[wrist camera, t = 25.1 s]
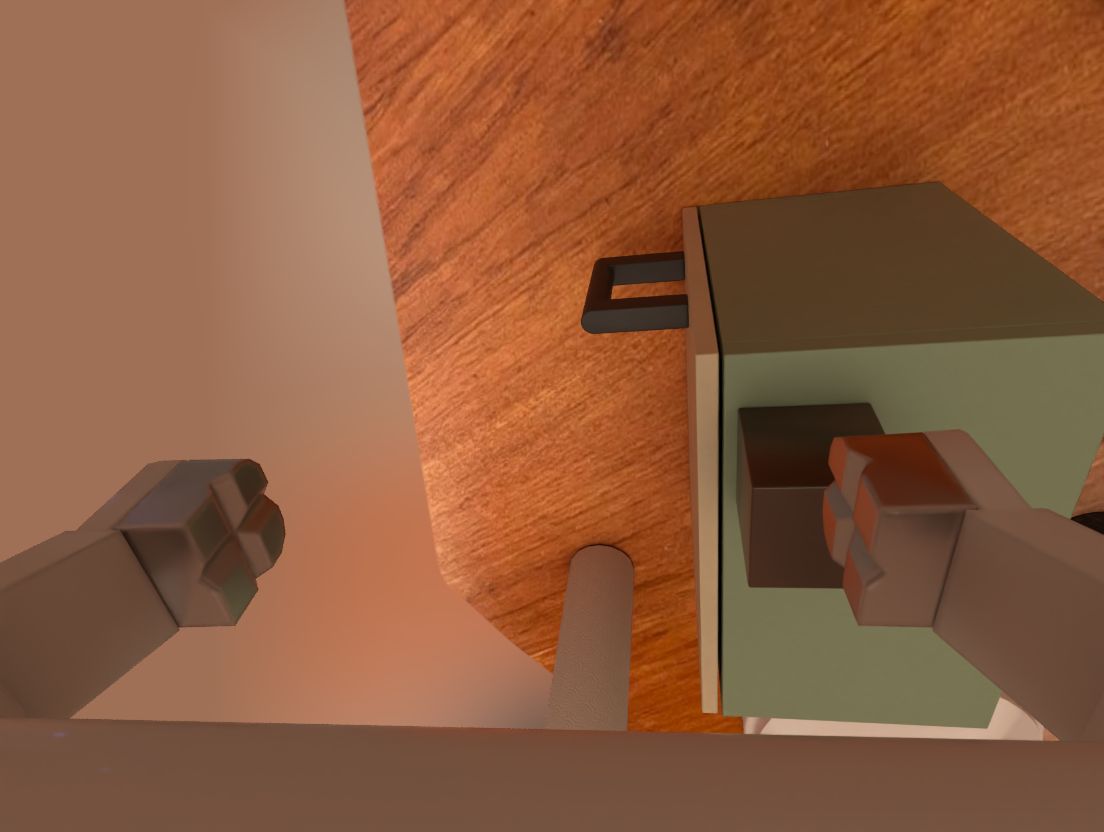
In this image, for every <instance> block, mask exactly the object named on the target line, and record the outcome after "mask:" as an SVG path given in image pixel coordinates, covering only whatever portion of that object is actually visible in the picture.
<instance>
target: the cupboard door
mask: <svg viewBox="0 0 1104 832" xmlns="http://www.w3.org/2000/svg"><path fill="white" fill-rule="evenodd" d="M682 224H683V251H680V252H668V253H656V254H645V255H633V256H621V257H609V258H601V259H599V260H597V261H596V262H595V264H594V267H593V272H592V276H591V280H590V284H589V288H588V293H587V297H586V301H585V305H584V310H583V314H582V318H581V325H582V327H583V329H584V330H585V331H586V332H588V333H591V334H599V333H615V332H632V331H648V330H664V329H680V328H685V331H686V367H687V403H688V438H689V474H690V502H691V520H692V539H693V557H694V575H695V593H696V611H697V629H698V648H699V666H700V684H701V702H702V712H703V713H717V712H718V445H719V353H718V346H717V339H716V333H715V326H714V320H713V313H712V307H711V300H710V293H709V287H708V280H707V274H706V267H705V261H704V254H703V247H702V241H701V234H700V228H699V221H698V215H697V208H696V207H688V208H682ZM680 280H684V294H680V295H666V296H652V297H638V298H625V299H611V294H612V288H613V286H615V285H628V284H641V283H654V282H667V281H680Z"/></svg>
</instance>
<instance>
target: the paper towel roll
mask: <svg viewBox="0 0 1104 832" xmlns="http://www.w3.org/2000/svg"><path fill="white" fill-rule="evenodd" d="M633 587H634V568H633V565H632V563H631V560H630V559H629V558H628V557H627V556H626V555H625V554H624V553H623V552H621V551H619V550H617V549H615V548H613V547H608V546H602V545H597V546H589V547H586V548H584V549H582V550H580V551H578V552H577V553H576V554H575V556H574V557H573V558H572V560H571V563H570V570H569V576H568V583H567V589H566V595H565V602H564V608H563V615H562V621H561V627H560V634H559V640H558V647H557V653H556V659H555V666H554V672H553V679H552V685H551V692H550V698H549V704H548V711H547V717H546V724H545V729H555V730H599V731H627V718H628V696H629V674H630V653H631V631H632V609H633Z"/></svg>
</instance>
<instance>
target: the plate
mask: <svg viewBox="0 0 1104 832" xmlns="http://www.w3.org/2000/svg"><path fill="white" fill-rule="evenodd" d="M742 718H743V727H744V734H773V735H817V736H862V737H907V738H952V739H996V740H1041V741H1043V733H1044V726H1043V725H1042V724H1040V723H1039V722H1038V721H1037V720H1036V719H1035V718H1033V717H1032V716H1031V715H1030V714H1029V713H1028V712H1026V711H1025V710H1024V709H1023V708H1022V707H1021V706H1019V705H1018V704H1017V703H1016V702H1015V701H1014V700H1012V699H1011V698H1010V697H1009V696H1008V695H1007V694H1005V693H1004V692H1003V691H1002V693H1001V696H1000V698H999V701H998V704H997V706H996V709H995V711H994V714H993V716H992V719H991V721H990V724H989V726H988V728H987V729H981V728H961V727H941V726H920V725H900V724H880V723H859V722H839V721H819V720H798V719H778V718H758V717H742Z"/></svg>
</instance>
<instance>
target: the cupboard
mask: <svg viewBox="0 0 1104 832" xmlns="http://www.w3.org/2000/svg"><path fill="white" fill-rule="evenodd" d="M699 220H700V234H701V241H702V247H703V254H704V261H705V267H706V274H707V280H708V287H709V293H710V300H711V307H712V313H713V320H714V326H715V333H716V339H717V346H718V353H719V445H718V669H719V681H720V693H721V705H722V715H723V716H737V717H758V718H778V719H798V720H819V721H839V722H859V723H880V724H900V725H920V726H941V727H961V728H981V729H987V728H988V726H989V724H990V721H991V719H992V716H993V714H994V711H995V709H996V706H997V704H998V701H999V698H1000V696H1001V693H1002V690H1001V689H1000V688H998V687H997V686H996V685H995V684H994V683H993V682H991V681H990V680H989V679H988V678H987V677H986V676H984V675H983V674H982V673H981V672H980V671H979V670H977V669H976V668H975V667H974V666H973V665H972V664H970V663H969V662H968V661H967V660H966V659H965V658H963V657H962V656H961V655H960V654H959V653H958V652H956V651H955V650H954V649H953V648H952V647H951V646H949V645H948V644H947V643H946V642H945V641H943V640H942V639H941V638H940V637H939V636H938V635H936V634H935V633H934V632H933V631H932V629H933V628H929V627H889V626H858V624H857V622H856V619H855V617H854V614H853V612H852V609H851V606H850V604H849V601H848V599H847V596H846V594H845V591H844V589H828V588H750V587H749V586H748V582H747V574H746V567H745V560H744V553H743V546H742V539H741V532H740V525H739V518H738V511H737V504H736V478H737V424H738V409H739V408H758V407H782V406H807V405H832V404H857V403H870V404H871V405H872V407H873V409H874V411H875V413H876V415H877V417H878V419H879V421H880V423H881V426H882V428H883V430H884V432H885V434H899V433H916V432H922V431H936V430H950V429H960V430H963V431H965V432H967V433H969V435H970V436H971V437H972V438H973V439H974V441H975V442H976V443H977V444H978V445H979V446H980V448H981V449H982V450H983V451H984V452H985V454H986V455H987V456H988V457H989V458H990V459H991V461H992V462H993V463H994V464H995V465H996V467H997V468H998V469H999V470H1000V471H1001V472H1002V474H1003V475H1004V476H1005V477H1006V478H1007V480H1008V481H1009V482H1010V483H1011V484H1012V485H1013V487H1014V488H1015V489H1016V490H1017V491H1018V493H1019V494H1020V495H1021V496H1022V497H1023V499H1024V500H1025V501H1026V502H1027V503H1028V504H1029V506H1030V507H1031V508H1032V509H1034V508H1047V509H1049V510H1051V511H1053V512H1055V513H1058V514H1060V515H1062V516H1064V517H1066V518H1068V519H1071V516H1072V514H1073V511H1074V509H1075V506H1076V504H1077V501H1078V499H1079V496H1080V494H1081V491H1082V489H1083V486H1084V484H1085V481H1086V479H1087V476H1088V474H1089V471H1090V468H1091V466H1092V463H1093V461H1094V458H1095V456H1096V453H1097V451H1098V448H1099V446H1100V443H1101V441H1102V438H1103V436H1104V302H1103V301H1101V300H1100V299H1099V298H1097V297H1096V296H1095V295H1093V294H1092V293H1091V292H1089V291H1088V290H1086V289H1085V288H1084V287H1082V286H1081V285H1080V284H1078V283H1077V282H1075V281H1074V280H1073V279H1071V278H1070V277H1069V276H1067V275H1066V274H1065V273H1063V272H1062V271H1060V270H1059V269H1058V268H1056V267H1055V266H1054V265H1052V264H1051V263H1049V262H1048V261H1047V260H1045V259H1044V258H1043V257H1041V256H1040V255H1039V254H1037V253H1036V252H1034V251H1033V250H1032V249H1030V248H1029V247H1028V246H1026V245H1025V244H1023V243H1022V242H1021V241H1019V240H1018V239H1017V238H1015V237H1014V236H1013V235H1011V234H1010V233H1008V232H1007V231H1006V230H1004V229H1003V228H1002V227H1000V226H999V225H997V224H996V223H995V222H993V221H992V220H991V219H989V218H988V217H987V216H985V215H984V214H982V213H981V212H980V211H978V210H977V209H976V208H974V207H973V206H971V205H970V204H969V203H967V202H966V201H965V200H963V199H962V198H961V197H959V196H958V195H956V194H955V193H954V192H952V191H951V190H950V189H948V188H947V187H945V186H944V185H943V184H942V183H940V182H931V183H921V184H911V185H901V186H891V187H881V188H871V189H861V190H851V191H841V192H831V193H821V194H811V195H801V196H791V197H781V198H771V199H761V200H751V201H741V202H731V203H721V204H711V205H701V206H699Z"/></svg>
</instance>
